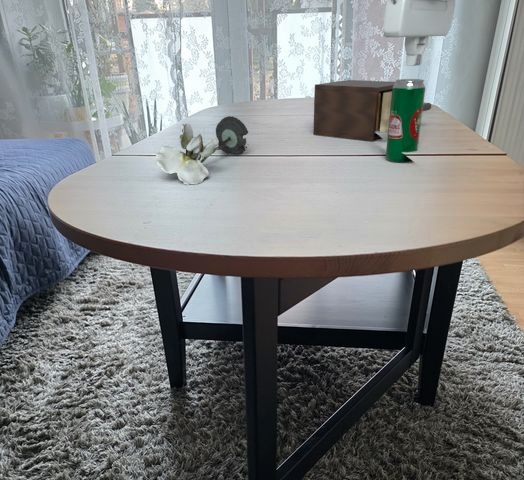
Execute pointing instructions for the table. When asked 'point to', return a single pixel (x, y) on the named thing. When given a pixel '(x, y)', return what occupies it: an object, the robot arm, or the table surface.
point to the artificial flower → (201, 150)
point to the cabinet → (348, 109)
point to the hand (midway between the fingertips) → (413, 65)
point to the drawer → (388, 110)
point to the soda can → (405, 119)
